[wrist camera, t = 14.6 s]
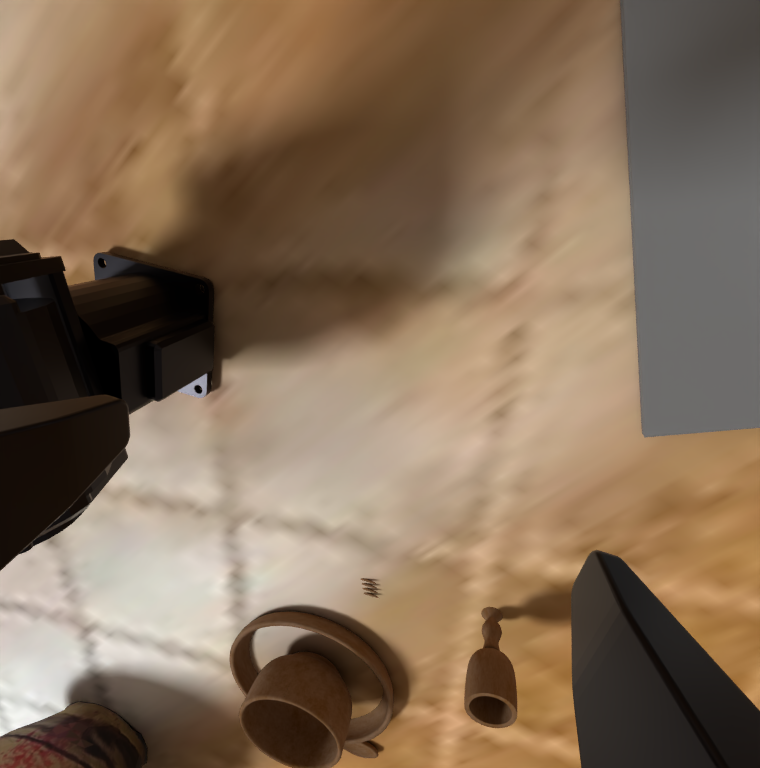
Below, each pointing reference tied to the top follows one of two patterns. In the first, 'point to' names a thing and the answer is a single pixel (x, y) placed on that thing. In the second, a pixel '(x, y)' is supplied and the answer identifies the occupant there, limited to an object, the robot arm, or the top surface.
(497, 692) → the place setting
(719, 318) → the charcoal rubber mat
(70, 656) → the top surface
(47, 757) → the ceramic jug
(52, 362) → the robot arm
